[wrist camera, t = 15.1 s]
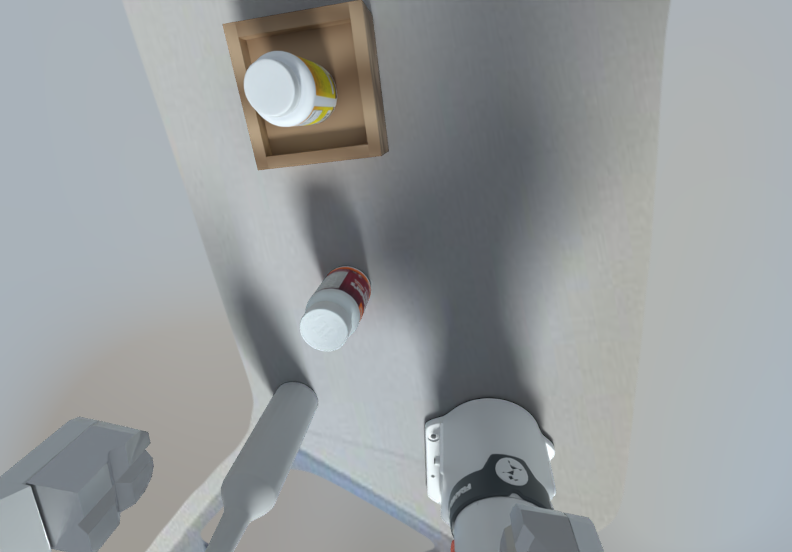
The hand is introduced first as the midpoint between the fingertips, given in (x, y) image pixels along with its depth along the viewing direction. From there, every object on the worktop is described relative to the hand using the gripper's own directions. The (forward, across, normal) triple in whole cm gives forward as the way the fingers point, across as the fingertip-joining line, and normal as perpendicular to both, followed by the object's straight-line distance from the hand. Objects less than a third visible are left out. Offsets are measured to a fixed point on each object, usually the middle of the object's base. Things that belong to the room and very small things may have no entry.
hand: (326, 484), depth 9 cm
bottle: (+39, +13, +34) cm, 54 cm away
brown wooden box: (+39, +12, -8) cm, 42 cm away
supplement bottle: (+35, +12, -8) cm, 38 cm away
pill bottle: (+39, +7, +14) cm, 42 cm away
